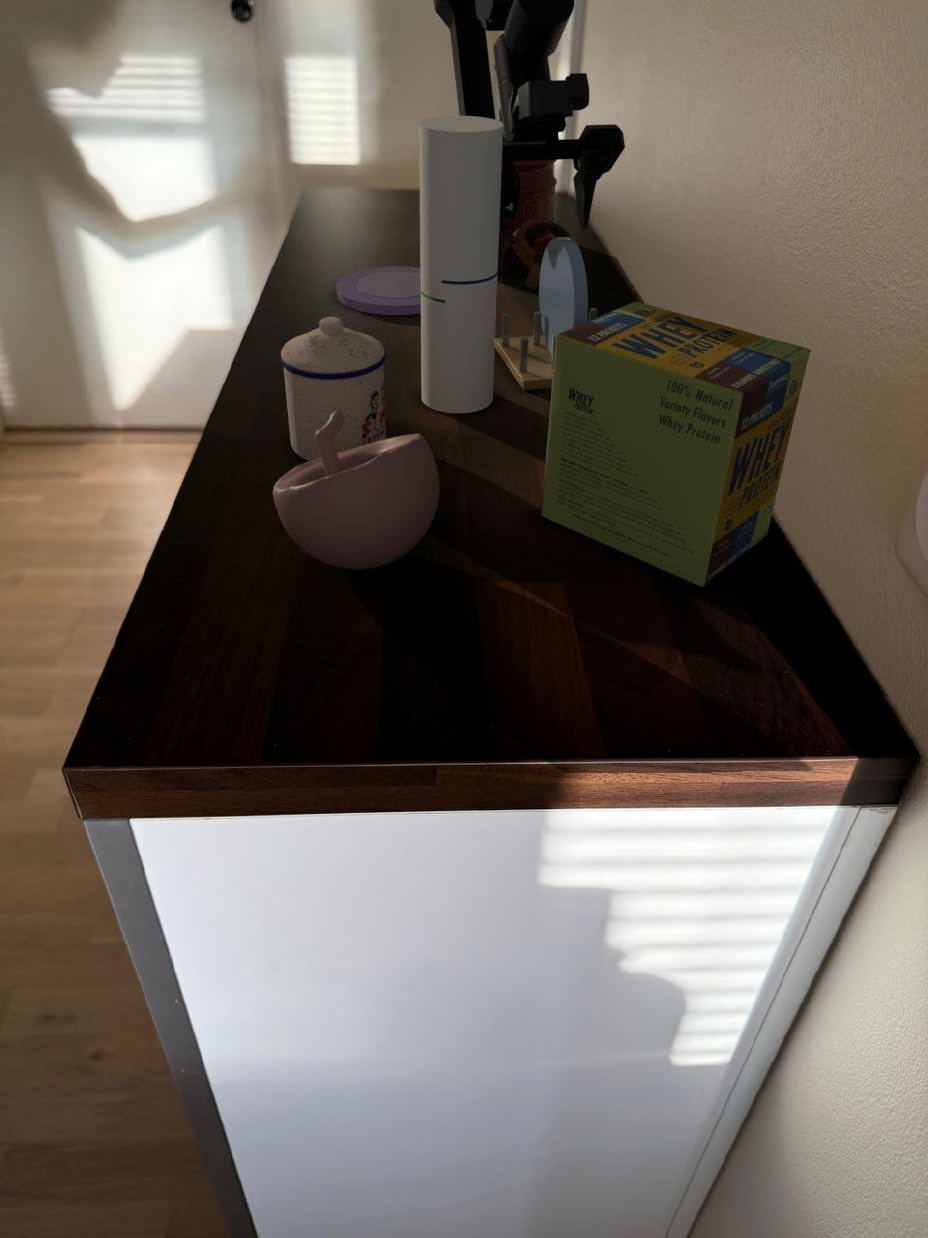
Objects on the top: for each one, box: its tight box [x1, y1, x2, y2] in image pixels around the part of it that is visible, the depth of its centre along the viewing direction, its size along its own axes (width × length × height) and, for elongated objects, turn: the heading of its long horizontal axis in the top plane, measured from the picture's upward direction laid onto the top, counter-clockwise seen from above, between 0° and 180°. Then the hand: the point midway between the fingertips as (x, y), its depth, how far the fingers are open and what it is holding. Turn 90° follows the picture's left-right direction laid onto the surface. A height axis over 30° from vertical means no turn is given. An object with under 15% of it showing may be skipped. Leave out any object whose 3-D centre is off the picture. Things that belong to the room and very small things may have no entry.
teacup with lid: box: [279, 316, 387, 462], centre depth 87 cm, size 12×9×12 cm
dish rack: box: [495, 307, 598, 391], centre depth 105 cm, size 12×11×4 cm
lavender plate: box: [335, 265, 421, 316], centre depth 123 cm, size 15×15×1 cm
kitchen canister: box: [496, 119, 558, 251], centre depth 137 cm, size 13×13×18 cm
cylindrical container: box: [418, 115, 503, 414], centre depth 91 cm, size 7×7×25 cm
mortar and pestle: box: [272, 411, 441, 571], centre depth 72 cm, size 12×12×12 cm
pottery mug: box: [497, 219, 572, 290], centre depth 127 cm, size 12×10×8 cm
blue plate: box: [538, 237, 589, 355], centre depth 102 cm, size 12×1×12 cm, turn 13°
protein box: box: [540, 301, 812, 588], centre depth 75 cm, size 10×15×16 cm
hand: (543, 229), depth 105 cm, fingers open, 9 cm apart
